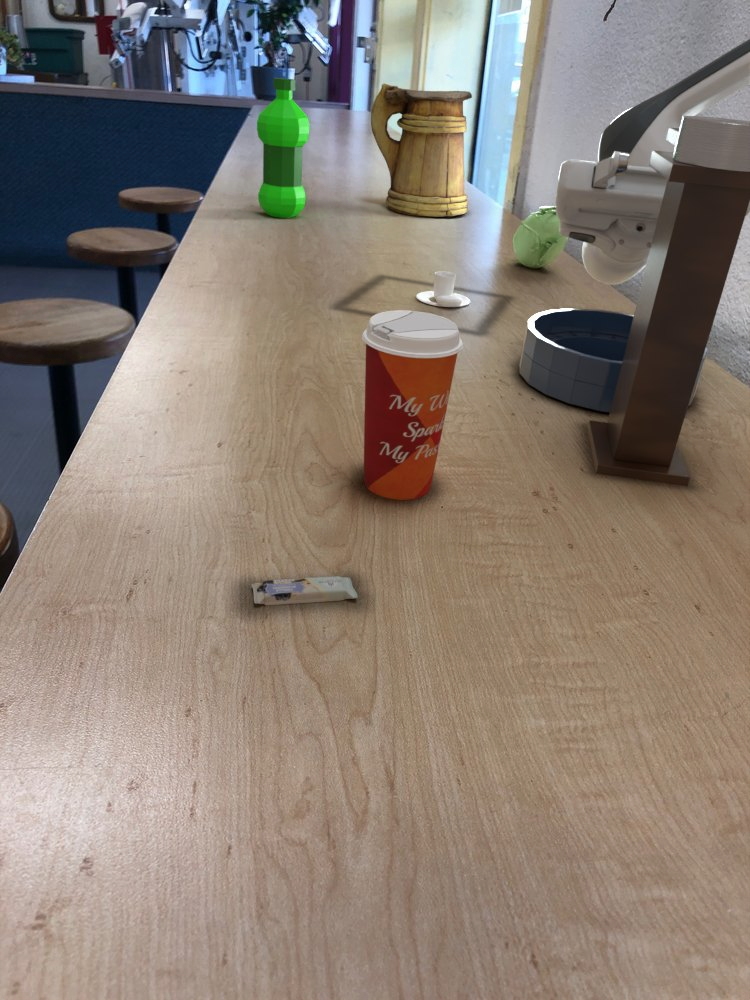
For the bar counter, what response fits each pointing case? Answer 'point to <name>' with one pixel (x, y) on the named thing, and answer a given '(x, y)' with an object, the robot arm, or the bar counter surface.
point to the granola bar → (303, 590)
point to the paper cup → (406, 399)
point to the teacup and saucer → (443, 292)
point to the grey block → (712, 143)
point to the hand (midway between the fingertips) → (669, 163)
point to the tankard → (423, 150)
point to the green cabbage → (539, 238)
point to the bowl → (578, 355)
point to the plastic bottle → (282, 152)
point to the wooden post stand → (671, 321)
